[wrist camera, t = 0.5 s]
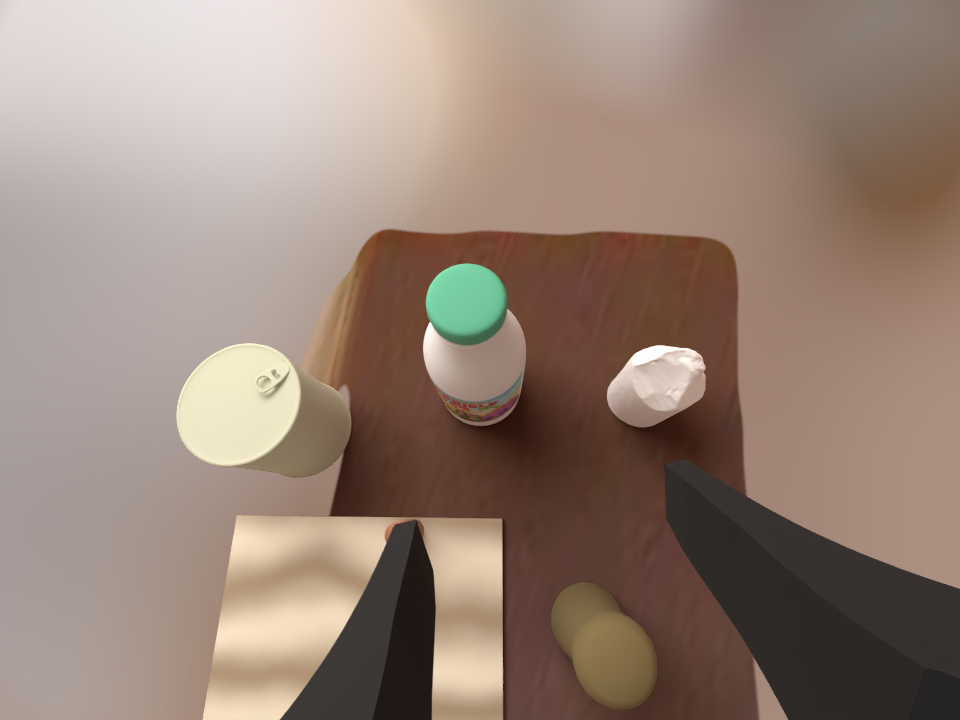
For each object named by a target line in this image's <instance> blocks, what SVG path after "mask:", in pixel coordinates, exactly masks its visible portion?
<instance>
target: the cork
mask: <svg viewBox="0 0 960 720" xmlns="http://www.w3.org/2000/svg"><path fill="white" fill-rule="evenodd" d="M551 628H552V632H553V635H554V639H555V640H556V642H557V644H558V645H559V647H560V648H561V650H562V651H563V652H564V653H565V654H566V655H567V656H568V657H569V658H570V659H571V660H572V661H573V665H574V668H575V672H576V675H577V678H578V680H579V681H580V683H581V685H582V686H583V688H584V690H585V691H586V692H587V693H588V694H589V695H590V696H591V697H592V698H593V699H594V700H595V701H597V702H598V703H600V704H602V705H604V706H606V707H609V708H611V709H616V710H628V709H631V708H634V707H637V706H639V705H640V704H641V703H643V702H644V701H645V700H646V699H648V697H649V696H650V694H651V692H652V691H653V689H654V687H655V684H656V680H657V675H658V664H657V656H656V652H655V650H654V647H653V644H652V641H651V639H650V638H649V636H648V635H647V633H646V632H645V630H644V629H643V628H642V627H641V626H640V625H639V624H637V623H636V622H635V621H634V620H633V619H631V618H630V617H628V616H626V615H624V614H623V612H622V610H621V608H620V606H619V604H618V603H617V601H616V600H615V598H614V597H613V595H612V594H610V593H609V592H608V591H607V590H606V589H604V588H603V587H601V586H599V585H596V584H594V583H588V582H579V583H576V584H572V585H570V586H568V587H567V588H566V589H564V590H563V591H562V592H561V593H560V594H559V596H558V597H557V599H556V600H555V602H554V605H553V608H552V611H551Z"/></svg>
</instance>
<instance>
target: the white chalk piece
mask: <svg viewBox="0 0 960 720" xmlns="http://www.w3.org/2000/svg"><path fill="white" fill-rule="evenodd" d="M705 369H706V368H705V365H704V363H703V359H702V356H701V355H700V354H698V353H697V352H696V351H693V350H691V349H689V348H683V349H682V348H678V347H669V346H653V347H649V348H646V349H644V350H641V351H639V352H637V353H636V354H634V355H633V356H632V358H631V359H630V360H629V361H628V363H627V364H626V366H625V367H624V368H623V370H622V371H621V372H620V373H619V375H618V376H617V377H616V378H615V379H614V380H613V381H612V382H611V384H610V386H609V388H608V392H607V401H608V405H609V407H610V409H611V411H612V412H613V413H614V414H615V416H616V417H618V418H619V419H620V420H622V421H623V422H625V423H627V424H629V425H631V426H635V427H649V426H653V425H655V424H657V423H660V422H661V421H663V420H665V419H667V418H669V417H671V416H673V415H674V414H676V413H678V412H680V411H682V410H684V409H686V408H687V407H689V406H691V405H692V404H694V403H695V402H697V401H698V400H700V399H701V398H702V396H703V393H704V391H705V379H706V376H705V374H704V370H705Z"/></svg>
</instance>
